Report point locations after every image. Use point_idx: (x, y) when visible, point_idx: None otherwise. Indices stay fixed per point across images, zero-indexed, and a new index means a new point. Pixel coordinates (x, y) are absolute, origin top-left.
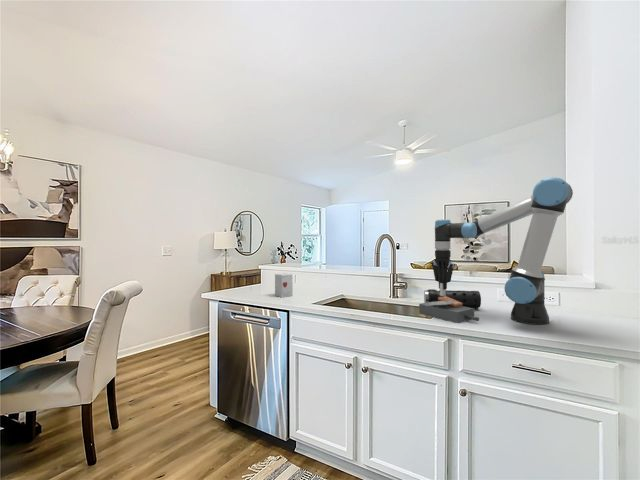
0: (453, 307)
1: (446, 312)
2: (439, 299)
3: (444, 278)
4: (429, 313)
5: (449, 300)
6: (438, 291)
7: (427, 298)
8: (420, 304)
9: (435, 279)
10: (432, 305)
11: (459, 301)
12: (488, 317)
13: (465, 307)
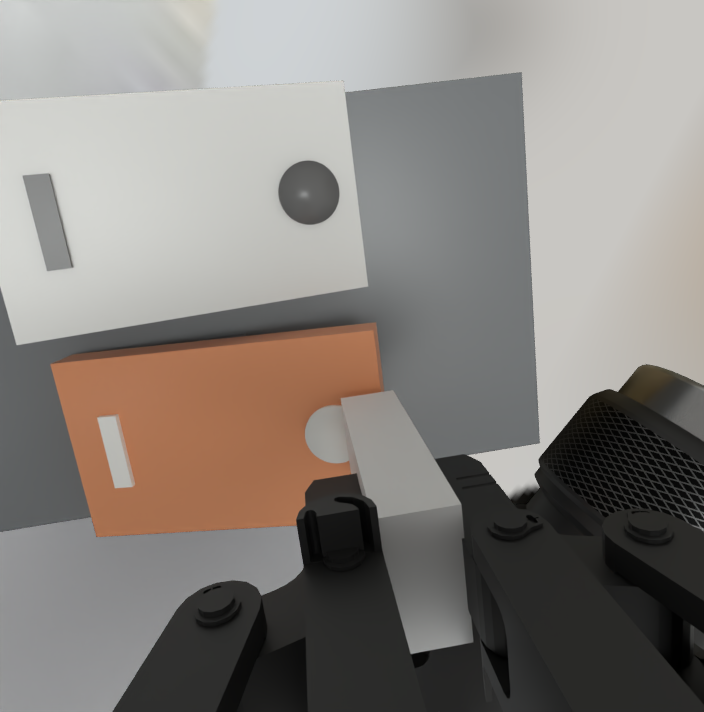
0: (98, 346)
1: None
2: (345, 328)
3: (306, 665)
4: None
5: (212, 414)
6: None
7: (656, 392)
8: (496, 76)
9: (680, 529)
10: None
11: None
12: (8, 643)
13: (33, 489)
